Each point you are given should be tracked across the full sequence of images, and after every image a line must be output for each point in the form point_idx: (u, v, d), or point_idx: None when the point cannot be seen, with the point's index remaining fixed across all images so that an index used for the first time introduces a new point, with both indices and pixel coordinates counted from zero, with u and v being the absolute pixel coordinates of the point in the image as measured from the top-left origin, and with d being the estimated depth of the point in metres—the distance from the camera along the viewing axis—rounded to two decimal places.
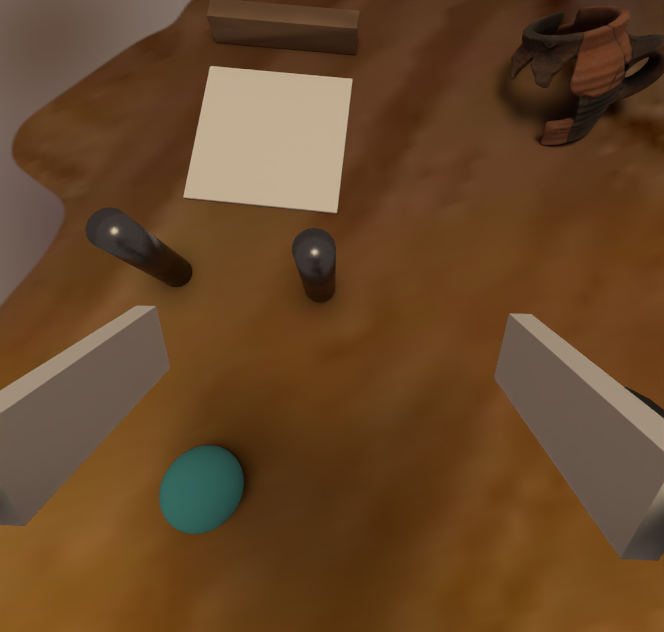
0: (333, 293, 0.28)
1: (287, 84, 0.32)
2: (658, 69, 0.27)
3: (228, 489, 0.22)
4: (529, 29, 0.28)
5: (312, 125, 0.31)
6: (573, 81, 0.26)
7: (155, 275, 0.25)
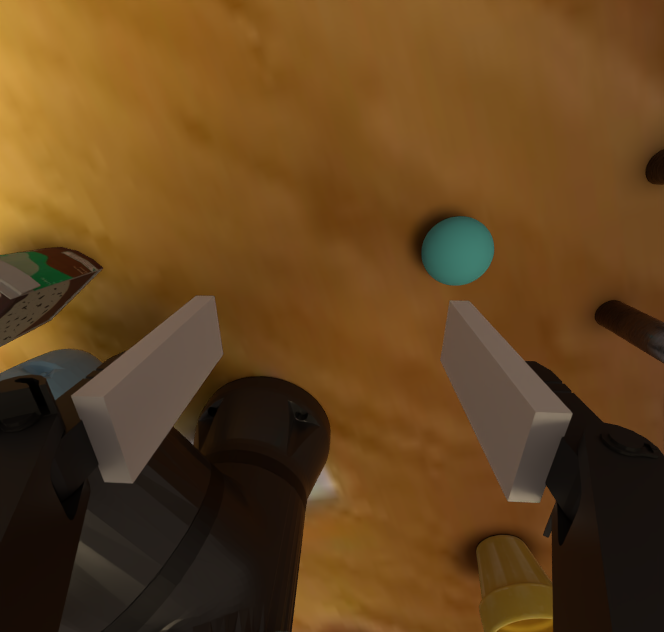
0: (603, 326, 0.31)
1: None
2: None
3: (465, 283, 0.26)
4: None
5: None
6: None
7: None
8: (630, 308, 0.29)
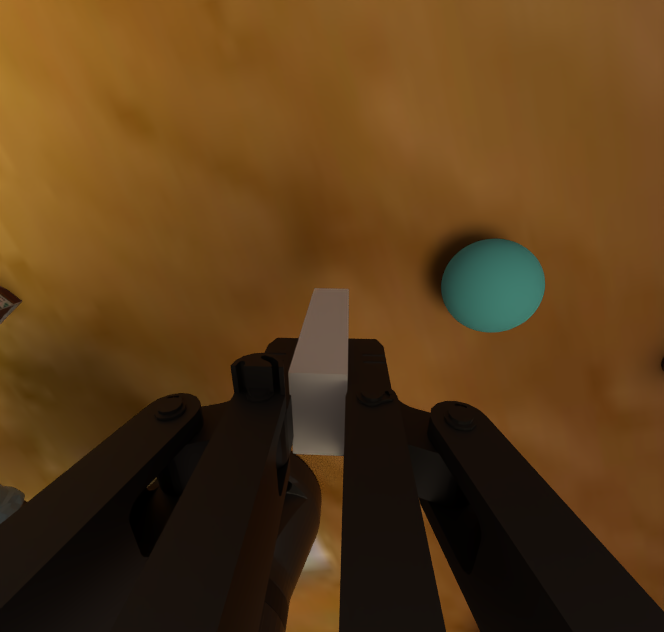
0: None
1: None
2: None
3: (503, 330, 0.19)
4: None
5: None
6: None
7: None
8: None
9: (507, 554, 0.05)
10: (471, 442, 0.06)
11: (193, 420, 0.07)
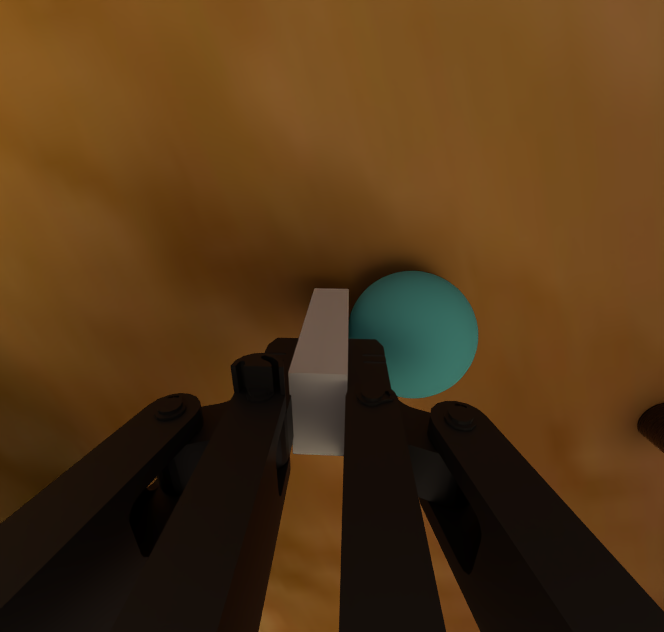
0: None
1: None
2: None
3: (424, 396, 0.14)
4: None
5: None
6: None
7: None
8: None
9: (507, 554, 0.05)
10: (471, 442, 0.06)
11: (193, 420, 0.07)
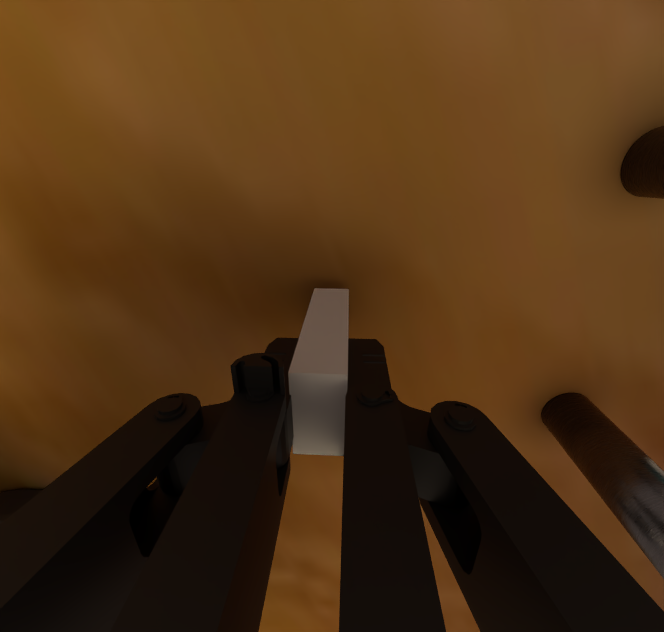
0: None
1: None
2: None
3: None
4: None
5: None
6: None
7: None
8: (596, 417, 0.16)
9: (507, 555, 0.05)
10: (471, 442, 0.06)
11: (193, 420, 0.07)
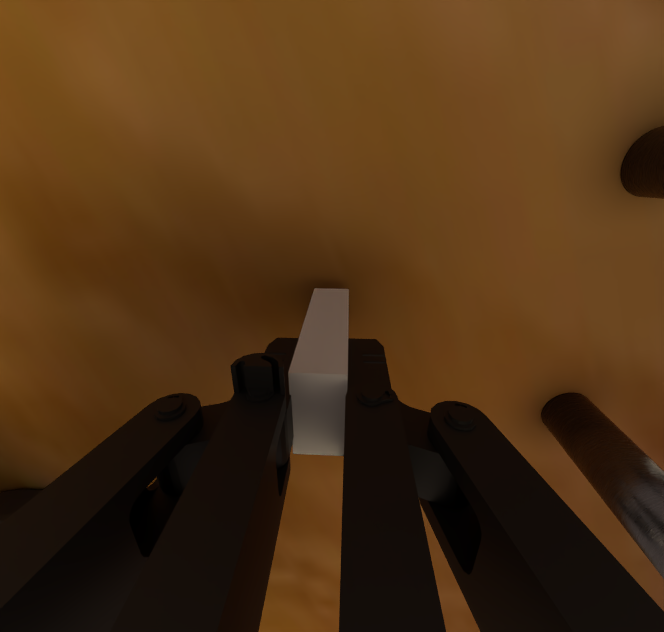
0: None
1: None
2: None
3: None
4: None
5: None
6: None
7: None
8: (596, 417, 0.16)
9: (507, 555, 0.05)
10: (471, 442, 0.06)
11: (193, 420, 0.07)
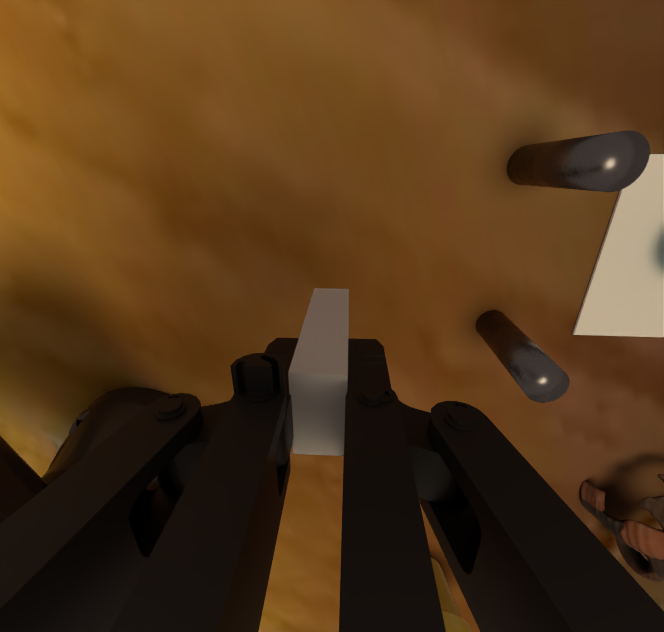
0: None
1: None
2: (635, 567, 0.34)
3: None
4: None
5: None
6: (639, 524, 0.30)
7: (530, 167, 0.21)
8: (503, 319, 0.26)
9: (507, 554, 0.05)
10: (471, 442, 0.06)
11: (193, 420, 0.07)
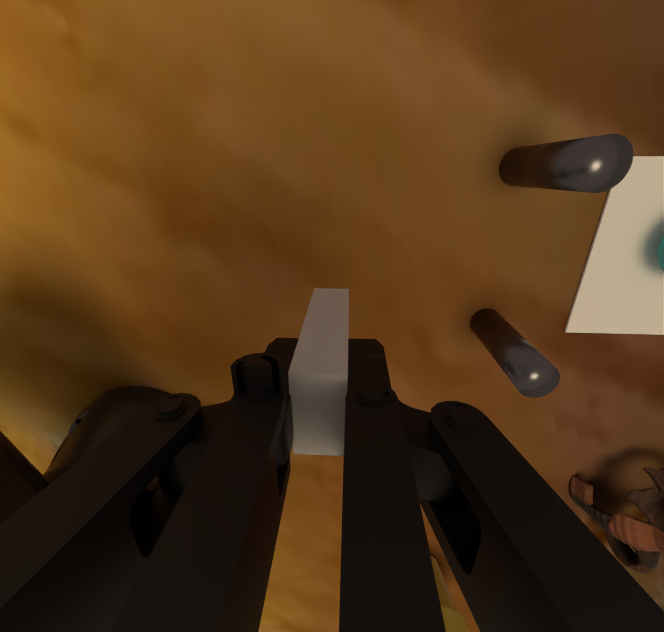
0: None
1: None
2: (623, 559, 0.34)
3: None
4: None
5: None
6: (625, 517, 0.31)
7: (521, 168, 0.21)
8: (496, 317, 0.27)
9: (507, 554, 0.05)
10: (471, 442, 0.06)
11: (193, 420, 0.07)
